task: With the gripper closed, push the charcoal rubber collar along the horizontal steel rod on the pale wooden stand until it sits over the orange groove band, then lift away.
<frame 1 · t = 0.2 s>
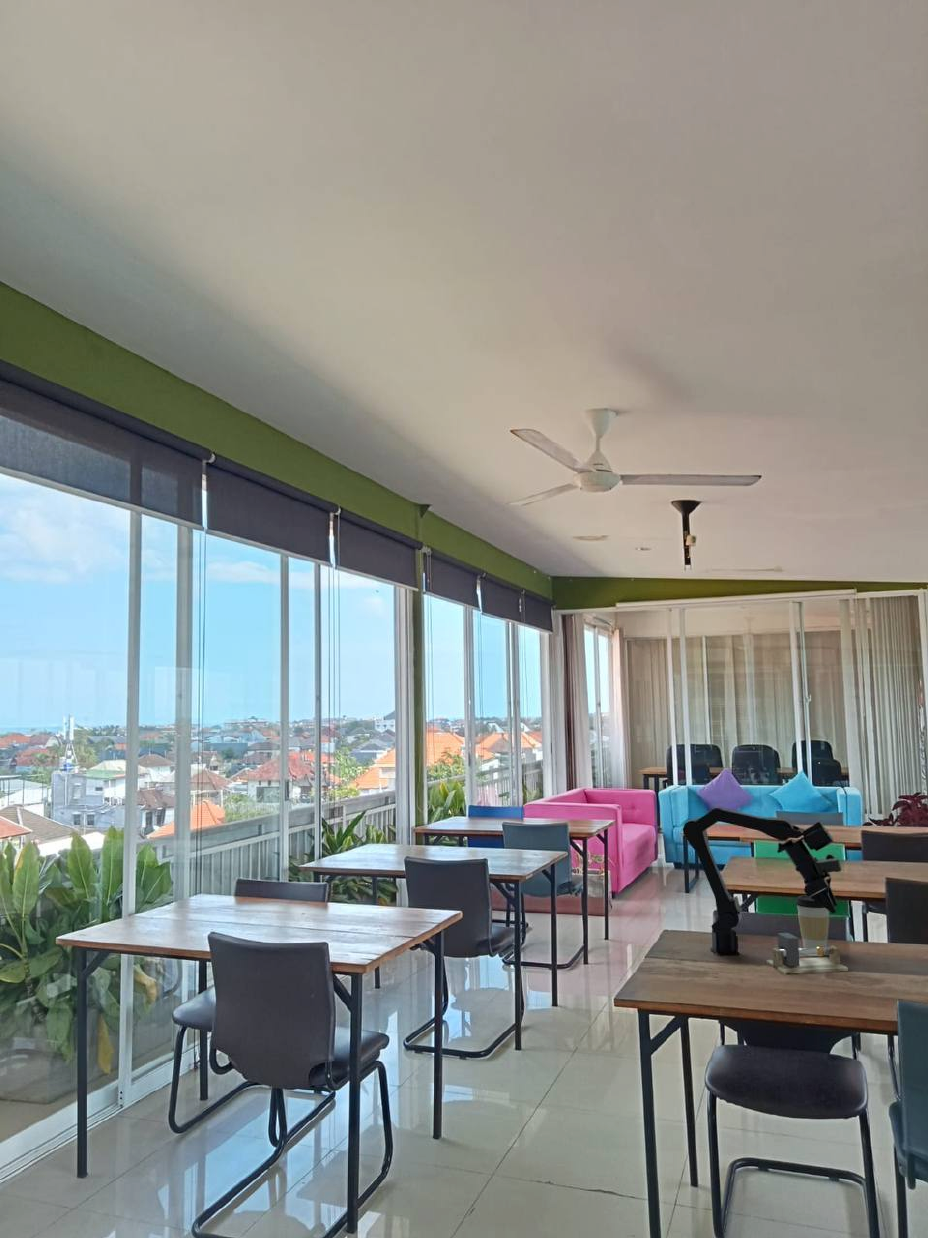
hand: (835, 909, 257), 15 cm above the table, tool tilted 30°, fingers open, 9 cm apart
collar: (788, 949, 252), point 5 cm above the table, slide at 0.0 cm
coffee cup: (815, 951, 269), on the table
stand: (806, 967, 252), on the table
rod: (805, 952, 253), point 3 cm above the table
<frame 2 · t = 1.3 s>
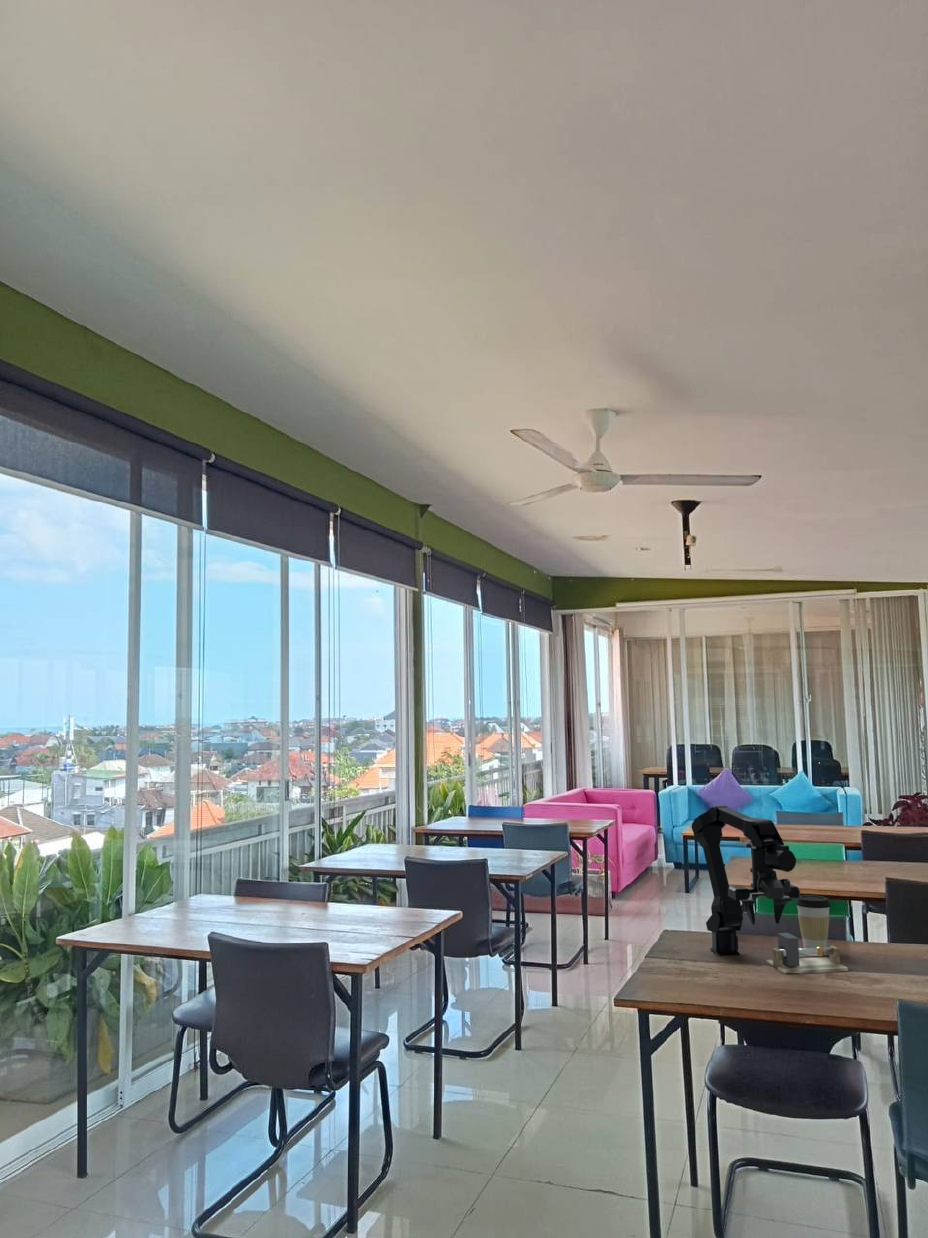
hand: (765, 924, 252), 12 cm above the table, tool pointing down, fingers open, 7 cm apart
nothing on the table moved.
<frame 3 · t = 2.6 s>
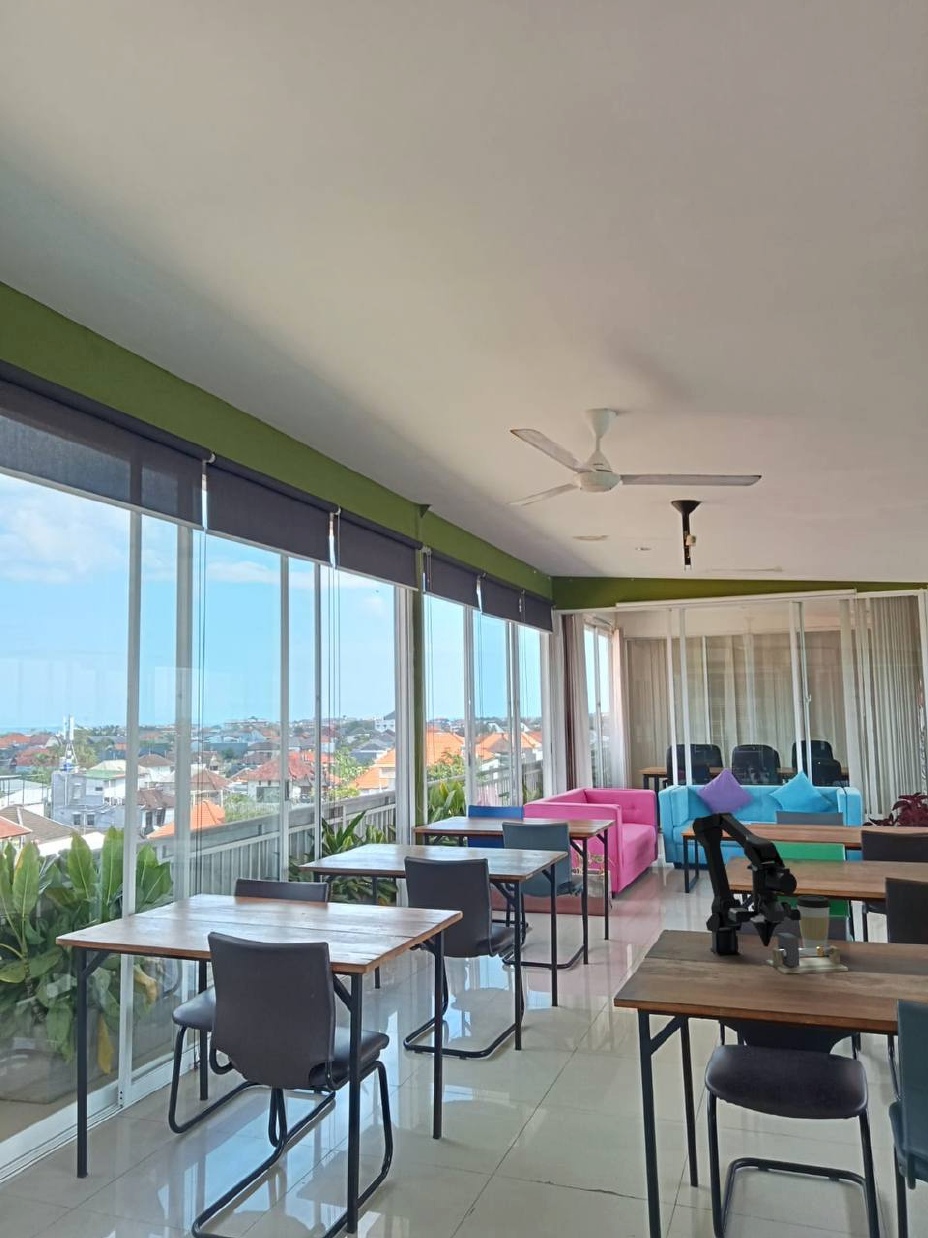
hand: (765, 946, 252), 6 cm above the table, tool pointing down, fingers closed
nothing on the table moved.
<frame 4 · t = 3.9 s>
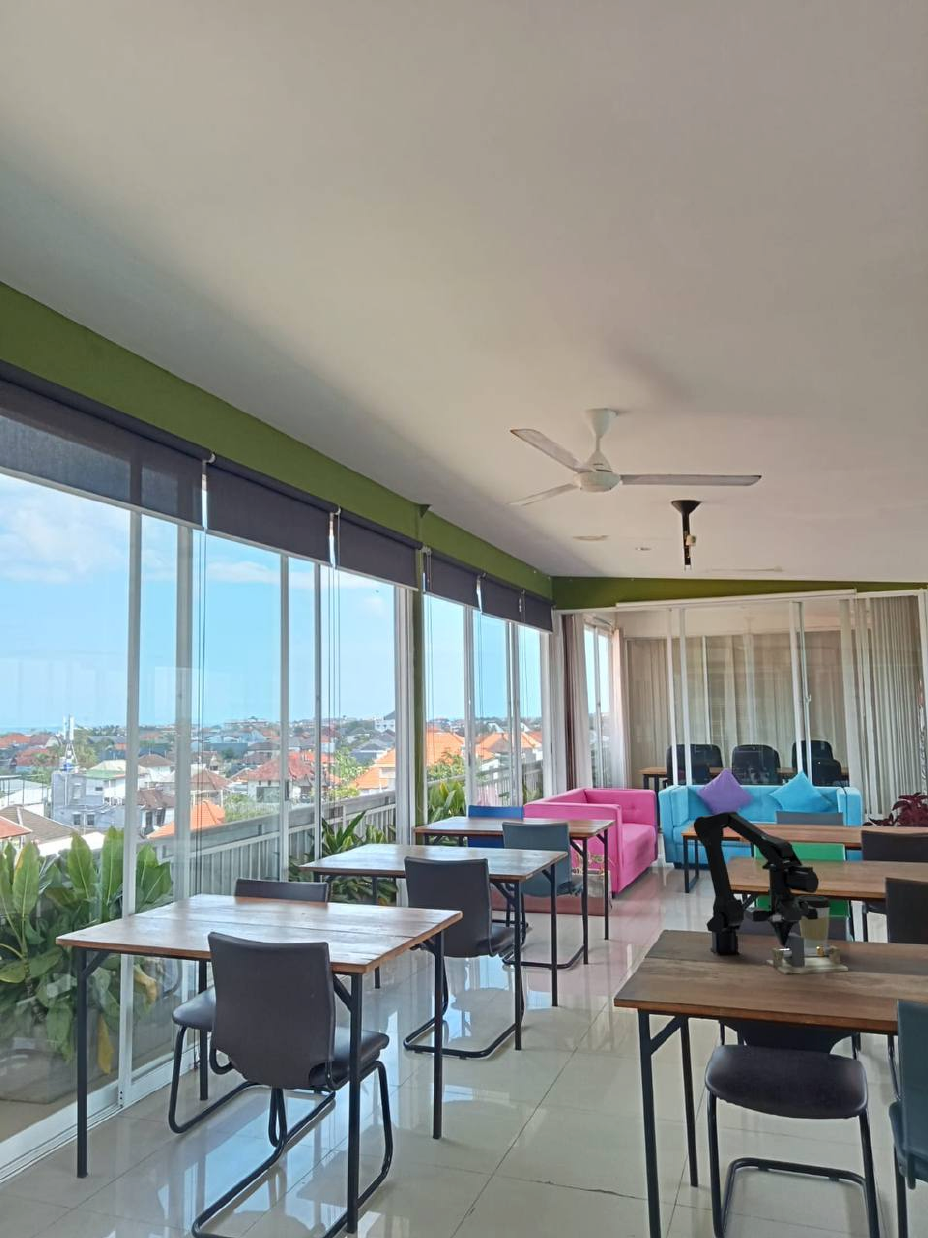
hand: (783, 945, 252), 6 cm above the table, tool pointing down, fingers closed
collar: (793, 949, 252), point 5 cm above the table, slide at 1.6 cm, touching gripper
everything else where it was.
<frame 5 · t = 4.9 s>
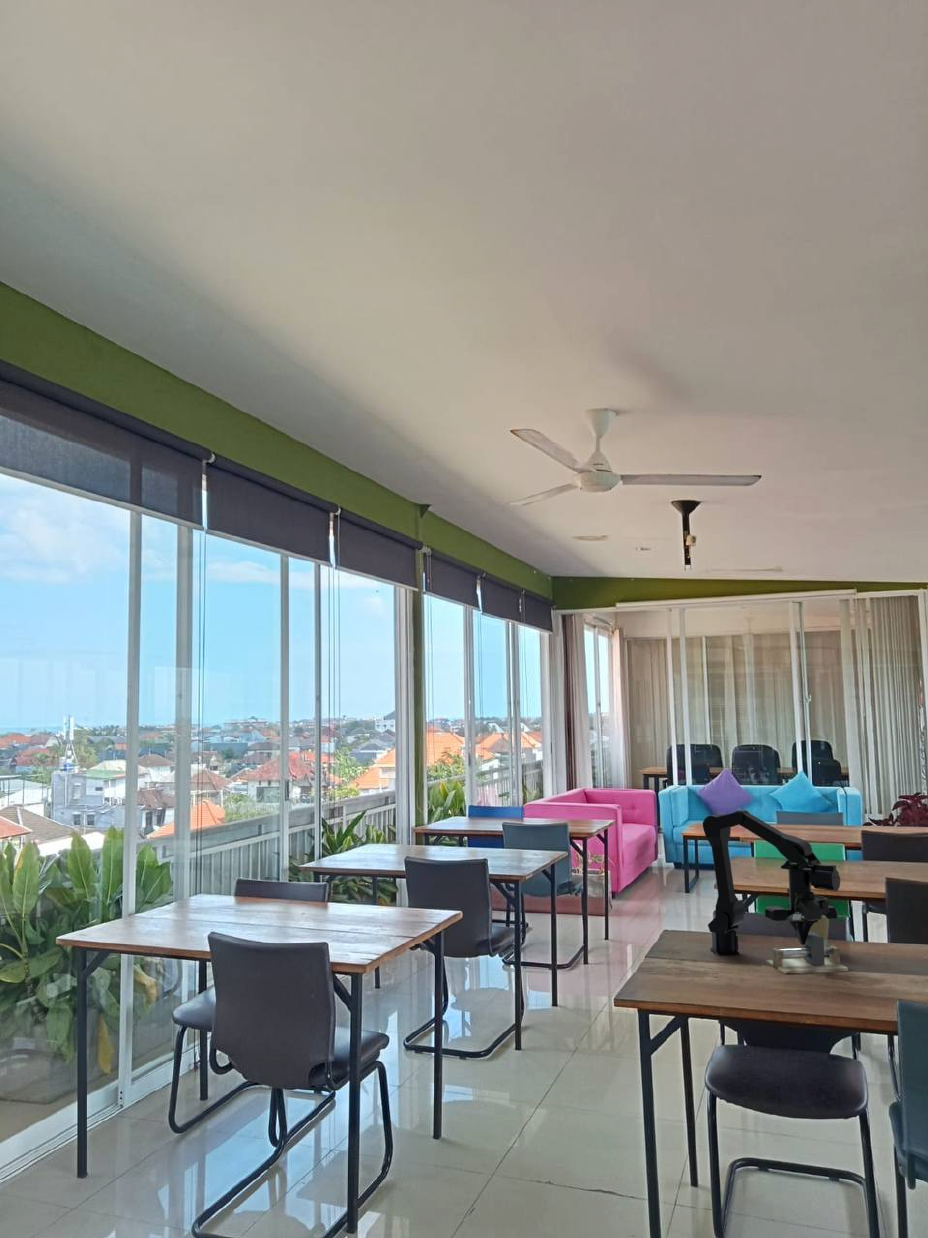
hand: (802, 944, 253), 6 cm above the table, tool pointing down, fingers closed
collar: (813, 948, 253), point 5 cm above the table, slide at 7.3 cm, touching gripper
everything else where it was.
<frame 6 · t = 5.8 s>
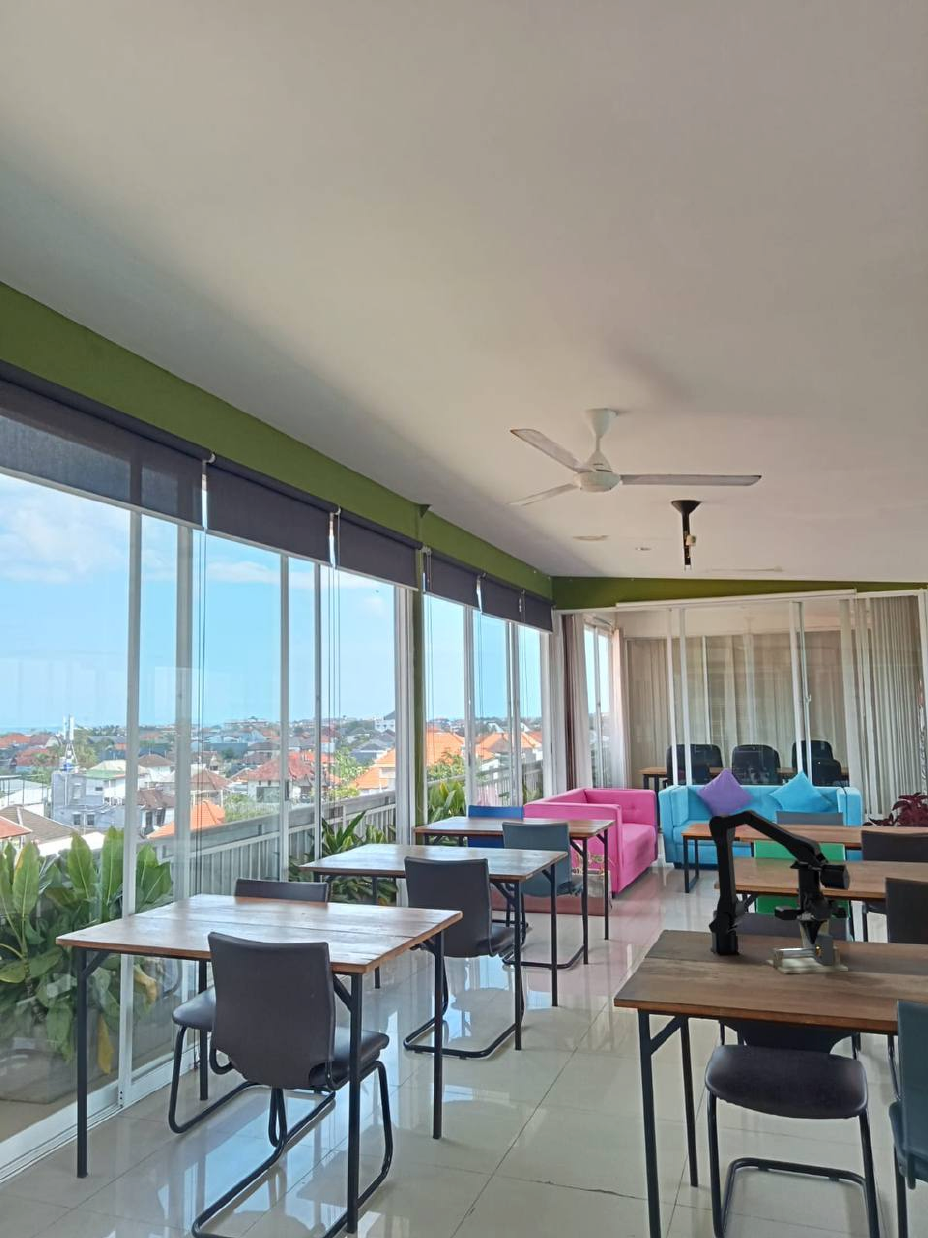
hand: (812, 944, 253), 6 cm above the table, tool pointing down, fingers closed
collar: (822, 948, 253), point 5 cm above the table, slide at 10.0 cm, touching gripper
everything else where it was.
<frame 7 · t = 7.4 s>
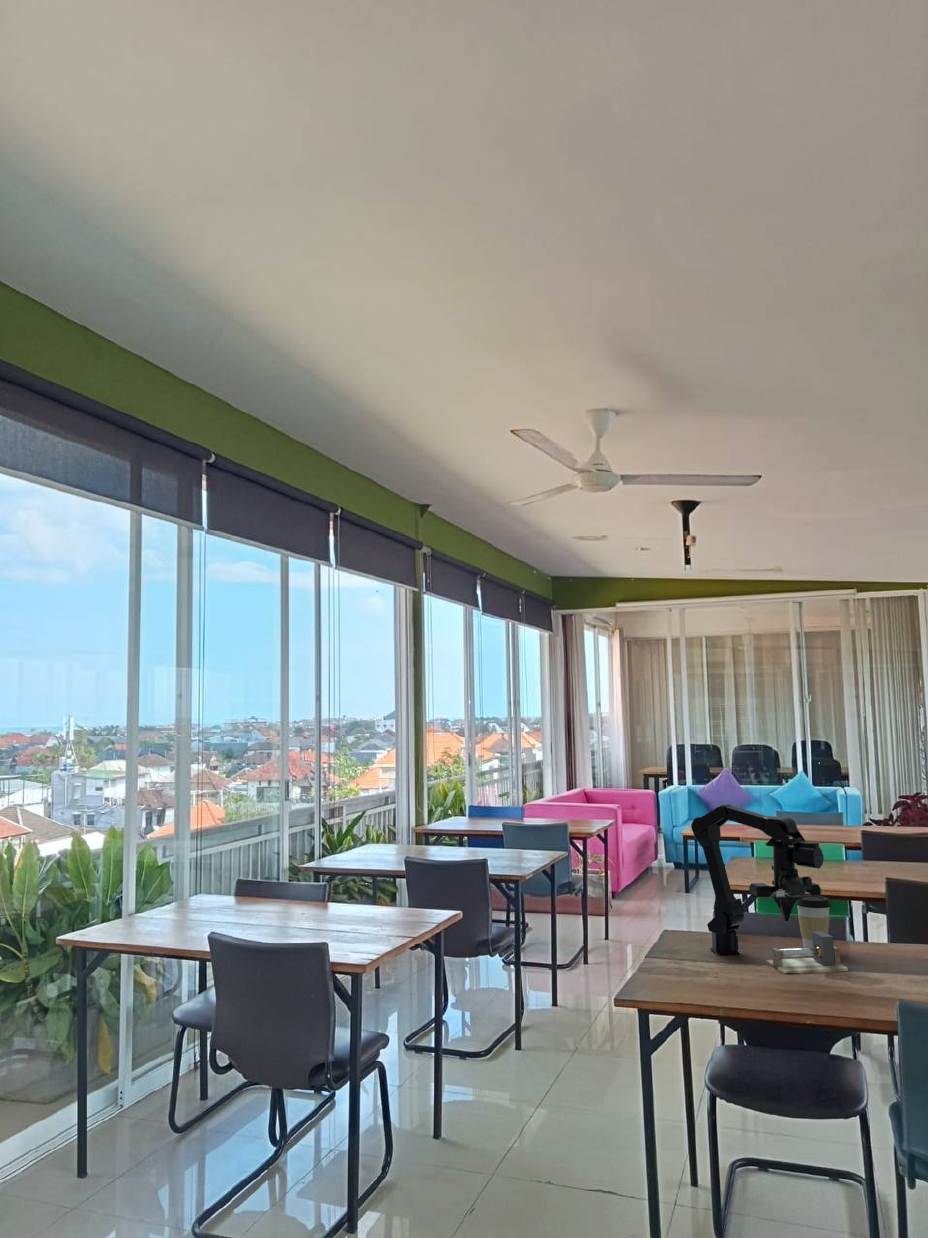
hand: (786, 921, 255), 12 cm above the table, tool pointing down, fingers closed
collar: (823, 948, 253), point 5 cm above the table, slide at 10.1 cm
everything else where it was.
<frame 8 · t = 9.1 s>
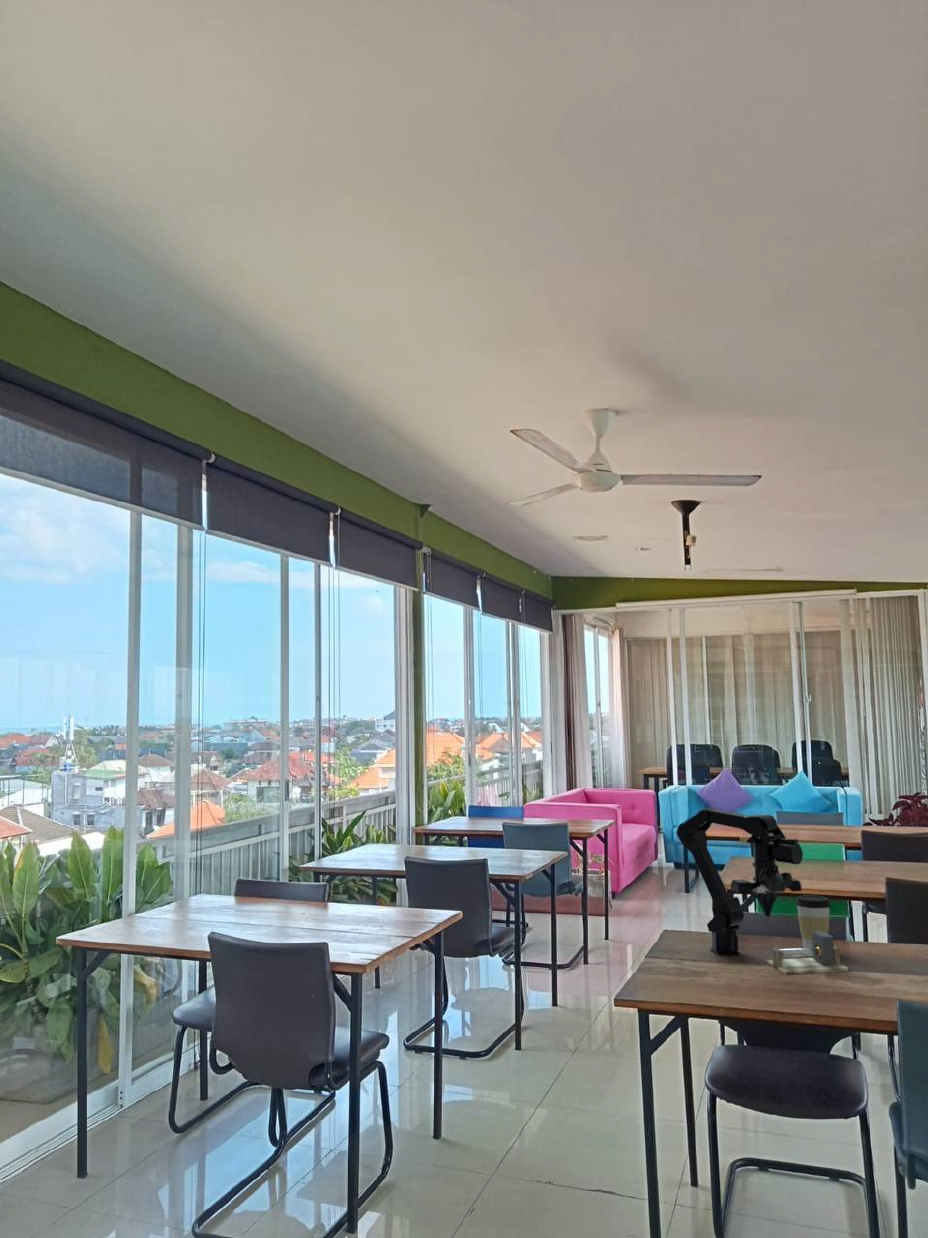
hand: (767, 916, 259), 13 cm above the table, tool pointing down, fingers closed
nothing on the table moved.
at the end: collar slide at 10.1 cm; collar touching nothing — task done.
